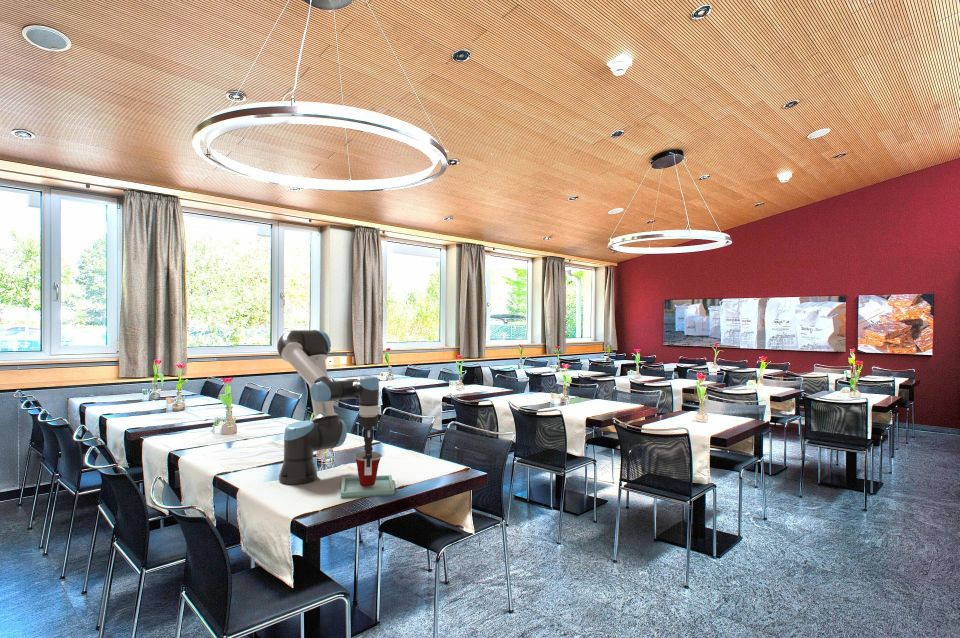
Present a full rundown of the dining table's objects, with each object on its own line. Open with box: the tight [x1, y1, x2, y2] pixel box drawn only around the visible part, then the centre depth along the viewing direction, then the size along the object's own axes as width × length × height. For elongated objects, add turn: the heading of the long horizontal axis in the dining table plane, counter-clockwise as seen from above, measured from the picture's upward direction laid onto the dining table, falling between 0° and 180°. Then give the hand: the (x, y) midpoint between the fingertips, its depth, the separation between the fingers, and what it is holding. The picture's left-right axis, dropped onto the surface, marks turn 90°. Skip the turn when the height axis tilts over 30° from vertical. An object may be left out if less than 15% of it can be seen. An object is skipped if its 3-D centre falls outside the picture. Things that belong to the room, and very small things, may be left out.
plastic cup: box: [354, 450, 383, 486], centre depth 210 cm, size 11×11×12 cm
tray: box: [340, 474, 395, 499], centre depth 210 cm, size 20×20×2 cm
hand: (367, 470), depth 210 cm, fingers closed on plastic cup, 11 cm apart
